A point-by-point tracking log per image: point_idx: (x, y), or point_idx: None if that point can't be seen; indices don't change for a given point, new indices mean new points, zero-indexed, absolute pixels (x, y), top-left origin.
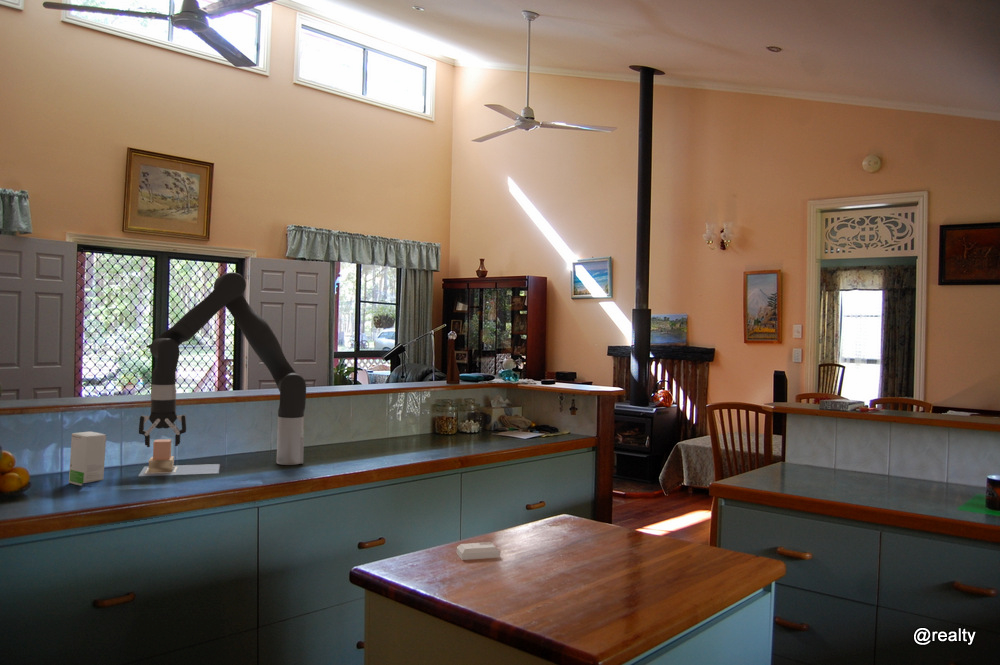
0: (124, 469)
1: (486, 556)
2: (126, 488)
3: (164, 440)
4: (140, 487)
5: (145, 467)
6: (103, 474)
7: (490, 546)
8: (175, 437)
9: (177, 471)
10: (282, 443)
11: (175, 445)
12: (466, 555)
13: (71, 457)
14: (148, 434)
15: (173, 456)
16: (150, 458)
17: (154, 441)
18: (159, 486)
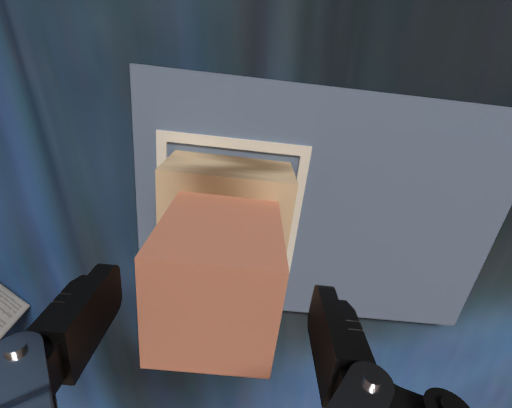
0: (17, 3)
1: None
2: (132, 387)
3: (224, 322)
4: (172, 386)
5: (141, 101)
6: (5, 333)
7: None
8: (318, 386)
9: (300, 251)
10: None
11: (309, 325)
12: None
13: None
14: (54, 404)
15: (294, 189)
16: (157, 221)
17: (144, 348)
18: (229, 388)
